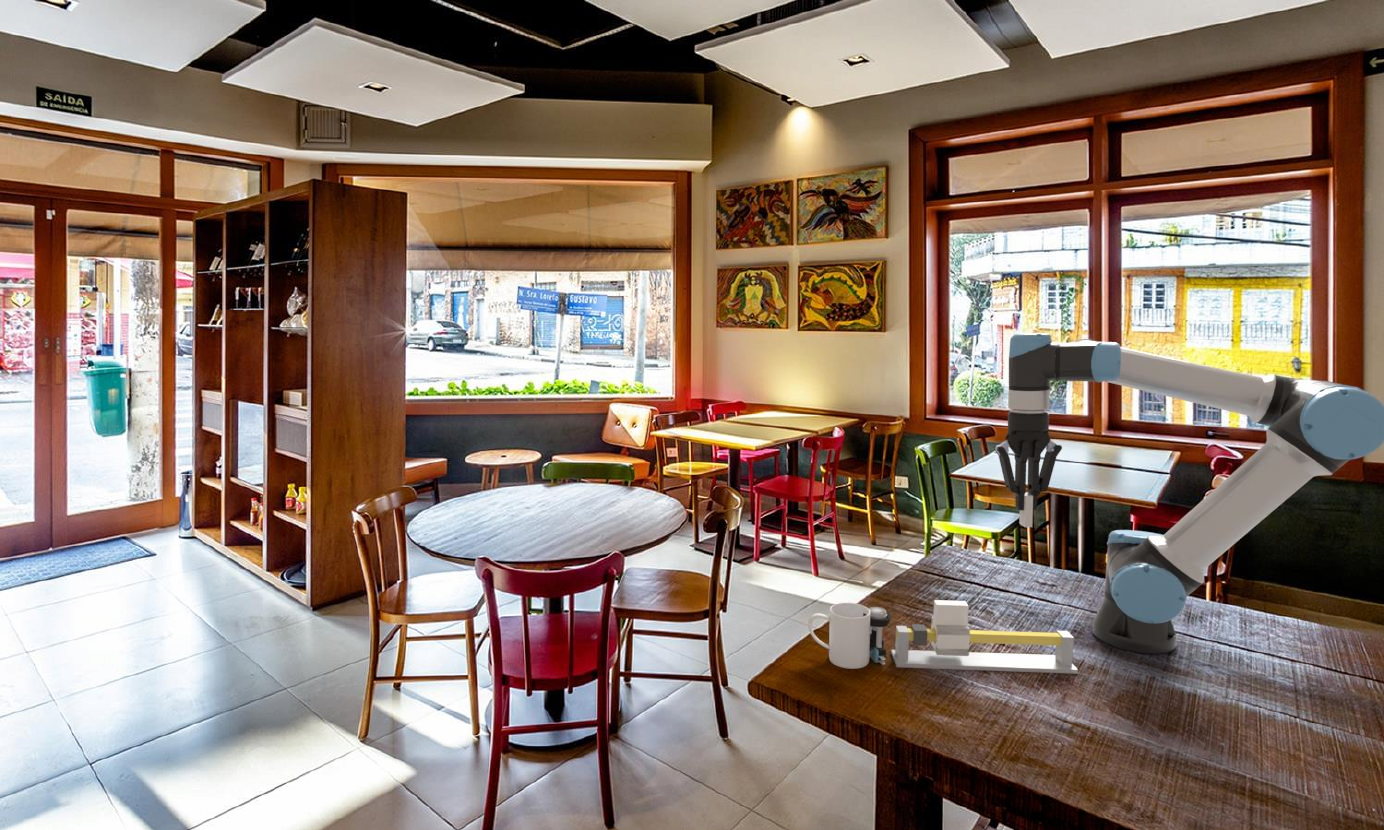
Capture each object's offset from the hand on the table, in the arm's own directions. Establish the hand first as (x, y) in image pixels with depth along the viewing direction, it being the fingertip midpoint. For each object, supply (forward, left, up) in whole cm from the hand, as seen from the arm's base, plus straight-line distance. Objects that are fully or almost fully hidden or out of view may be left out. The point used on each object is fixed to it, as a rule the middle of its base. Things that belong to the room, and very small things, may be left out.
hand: (1025, 525), depth 151 cm
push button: (+31, +9, -26) cm, 41 cm away
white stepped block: (+17, +9, -23) cm, 30 cm away
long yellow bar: (+11, +9, -22) cm, 26 cm away
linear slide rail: (+10, +9, -26) cm, 29 cm away
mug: (+38, +10, -26) cm, 47 cm away
